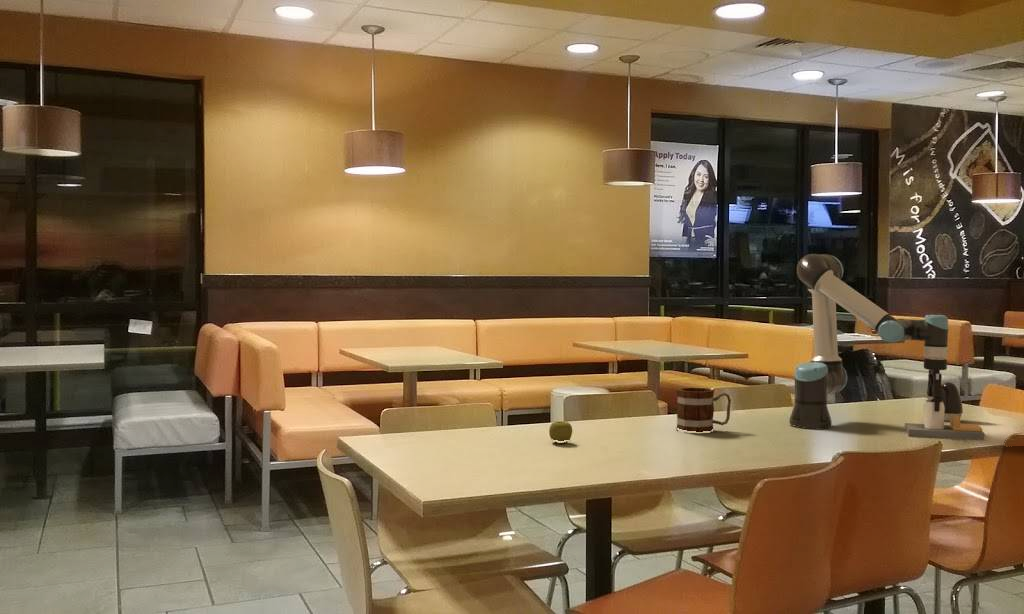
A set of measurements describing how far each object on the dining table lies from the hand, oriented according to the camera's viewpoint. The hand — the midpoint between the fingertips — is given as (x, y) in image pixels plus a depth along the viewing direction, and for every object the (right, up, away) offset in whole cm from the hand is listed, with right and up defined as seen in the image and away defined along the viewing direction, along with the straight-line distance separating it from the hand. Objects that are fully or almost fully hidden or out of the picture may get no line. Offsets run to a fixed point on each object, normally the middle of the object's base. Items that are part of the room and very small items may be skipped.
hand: (933, 417), depth 326 cm
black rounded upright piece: (+20, -5, +30) cm, 37 cm away
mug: (-81, -6, +7) cm, 81 cm away
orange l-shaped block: (+10, -4, -3) cm, 11 cm away
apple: (-134, -7, -18) cm, 136 cm away
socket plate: (+3, -6, -1) cm, 7 cm away
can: (0, -6, 0) cm, 6 cm away
